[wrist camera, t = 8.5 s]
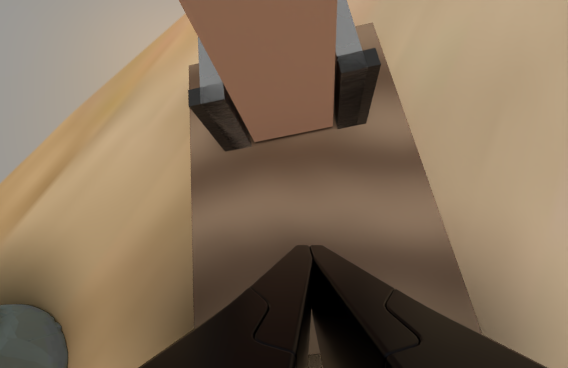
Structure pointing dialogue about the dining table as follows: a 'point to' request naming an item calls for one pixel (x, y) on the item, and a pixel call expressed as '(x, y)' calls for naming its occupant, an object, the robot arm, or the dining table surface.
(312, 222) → the walnut board
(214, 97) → the grey block
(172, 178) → the dining table surface
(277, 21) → the terracotta peg
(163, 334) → the dining table surface
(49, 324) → the grey embossed cylinder
